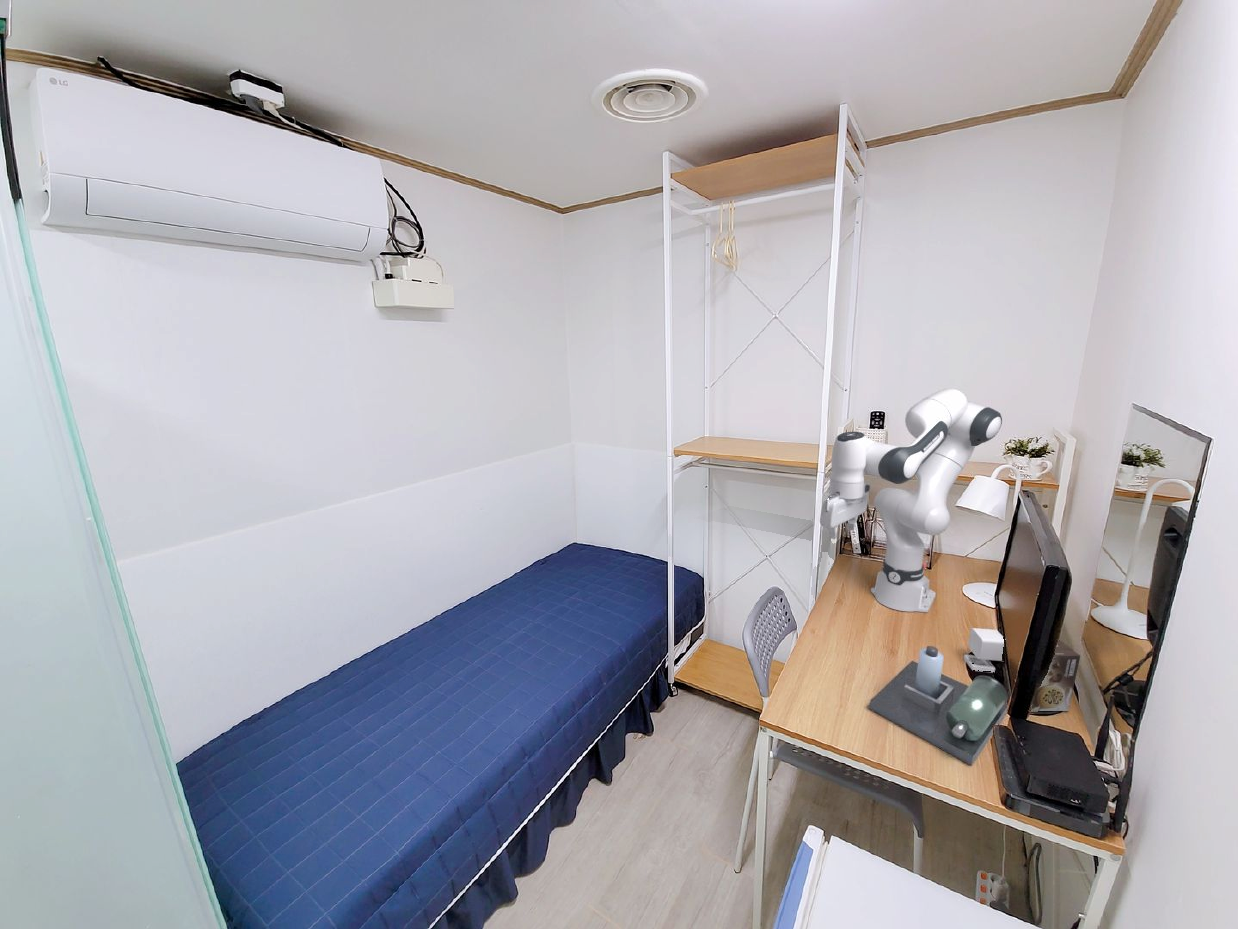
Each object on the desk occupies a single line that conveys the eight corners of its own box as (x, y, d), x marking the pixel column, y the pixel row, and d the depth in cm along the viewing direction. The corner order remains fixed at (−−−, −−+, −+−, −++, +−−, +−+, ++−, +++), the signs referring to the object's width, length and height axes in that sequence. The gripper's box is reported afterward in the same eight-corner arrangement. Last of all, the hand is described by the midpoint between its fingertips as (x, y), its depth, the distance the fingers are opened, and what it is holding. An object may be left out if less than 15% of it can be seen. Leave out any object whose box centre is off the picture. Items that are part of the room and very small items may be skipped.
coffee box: (1048, 694, 127) (1060, 639, 123) (1068, 713, 120) (1082, 655, 116) (1011, 694, 127) (1022, 639, 123) (1030, 712, 121) (1042, 655, 117)
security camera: (1002, 674, 134) (1008, 642, 132) (973, 671, 136) (978, 639, 133) (990, 659, 140) (995, 628, 138) (962, 657, 142) (967, 626, 139)
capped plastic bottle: (918, 686, 127) (925, 640, 124) (940, 696, 124) (947, 649, 120) (910, 695, 124) (917, 648, 121) (932, 706, 121) (939, 658, 117)
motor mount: (911, 668, 138) (915, 638, 135) (1007, 713, 121) (1014, 679, 118) (869, 709, 124) (873, 676, 121) (971, 766, 107) (978, 729, 104)
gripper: (837, 499, 133) (833, 547, 136) (874, 484, 145) (869, 528, 148) (815, 494, 138) (812, 540, 141) (852, 479, 150) (849, 522, 153)
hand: (842, 533), depth 145 cm, fingers open, 8 cm apart
